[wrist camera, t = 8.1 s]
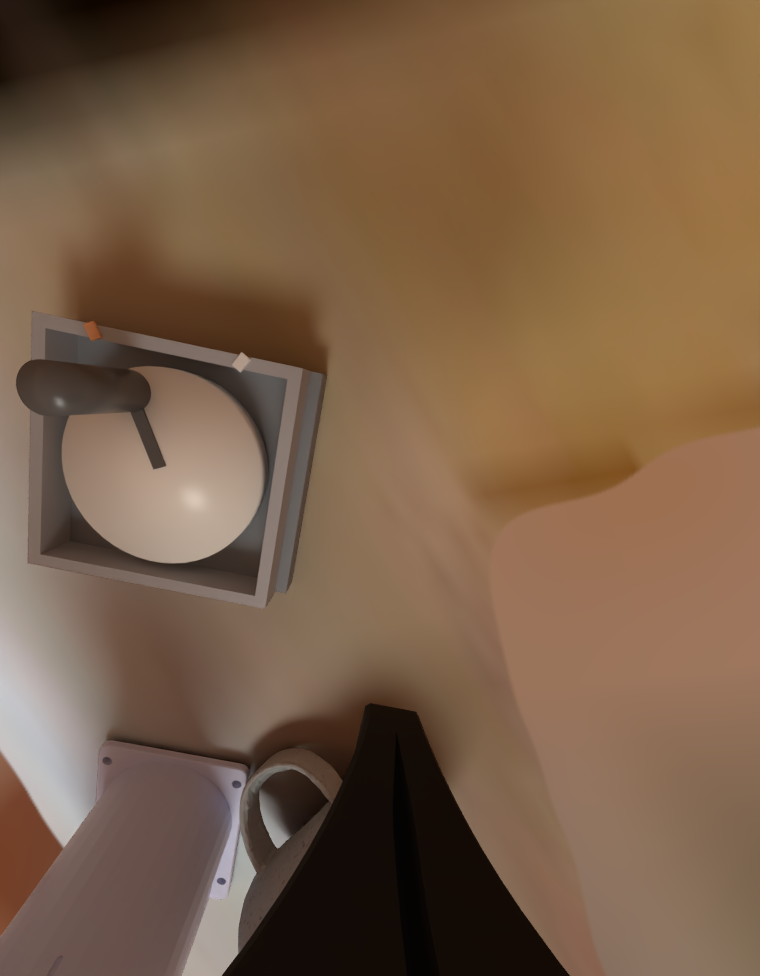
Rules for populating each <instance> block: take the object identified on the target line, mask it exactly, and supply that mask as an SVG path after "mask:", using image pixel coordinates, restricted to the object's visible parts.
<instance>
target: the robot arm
mask: <svg viewBox="0 0 760 976" xmlns="http://www.w3.org/2000/svg"><path fill="white" fill-rule="evenodd" d="M248 777H249V769H248V767H247V766H245V765H244V764H241V763H235V762H230V761H224V760H219V759H213V758H208V757H202V756H196V755H191V754H185V753H180V752H174V751H169V750H163V749H158V748H152V747H147V746H141V745H136V744H130V743H125V742H119V741H114V740H109V741H106V742H105V743H104V744H103V745H102V746H101V747H100V749H99V758H98V773H97V789H96V804H95V806H94V807H93V808H92V810H91V811H90V813H89V814H88V815H87V817H86V818H85V820H84V821H83V822H82V824H81V825H80V827H79V828H78V829H77V831H76V832H75V834H74V835H73V836H72V838H71V839H70V840H69V842H68V843H67V845H66V846H65V847H64V849H63V850H62V852H61V853H60V855H59V856H58V857H57V859H56V860H55V861H54V863H53V864H52V866H51V867H50V869H49V870H48V871H47V873H46V874H45V875H44V877H43V878H42V880H41V881H40V882H39V884H38V886H37V887H36V888H35V889H34V891H33V892H32V894H31V895H30V896H29V898H28V899H27V900H26V902H25V903H24V905H23V906H22V908H21V909H20V910H19V912H18V913H17V914H16V916H15V917H14V919H13V920H12V921H11V923H10V924H9V926H8V927H7V928H6V930H5V931H4V933H3V934H2V935H1V937H0V976H182V973H183V970H184V967H185V964H186V962H187V959H188V956H189V953H190V950H191V947H192V945H193V942H194V939H195V936H196V933H197V931H198V928H199V925H200V922H201V919H202V916H203V914H204V911H205V908H206V905H207V902H208V900H209V898H211V899H217V900H222V899H225V898H226V897H227V896H228V894H229V890H230V886H231V880H232V874H233V868H234V862H235V856H236V850H237V844H238V838H239V831H240V819H239V806H240V799H241V795H242V792H243V789H244V787H245V785H246V783H247V781H248ZM236 780H237V781H236ZM238 781H240V782H238ZM222 976H570V975H569V974H568V973H567V972H566V970H565V969H564V968H563V967H562V965H561V964H560V963H559V961H558V960H557V959H556V957H555V956H554V955H553V953H552V952H551V950H550V949H549V948H548V946H547V945H546V944H545V942H544V941H543V939H542V938H541V937H540V935H539V934H538V933H537V931H536V930H535V928H534V927H533V926H532V924H531V923H530V922H529V920H528V919H527V917H526V916H525V915H524V913H523V912H522V911H521V909H520V908H519V906H518V905H517V903H516V902H515V900H514V899H513V897H512V896H511V894H510V893H509V891H508V890H507V888H506V887H505V885H504V884H503V882H502V881H501V879H500V877H499V876H498V874H497V873H496V871H495V869H494V868H493V866H492V864H491V863H490V861H489V860H488V858H487V856H486V855H485V853H484V851H483V850H482V848H481V846H480V845H479V843H478V841H477V839H476V838H475V836H474V834H473V832H472V830H471V829H470V827H469V825H468V823H467V821H466V819H465V818H464V816H463V814H462V812H461V810H460V808H459V806H458V804H457V802H456V800H455V798H454V796H453V794H452V792H451V790H450V788H449V786H448V784H447V782H446V780H445V778H444V776H443V774H442V772H441V769H440V767H439V765H438V763H437V761H436V758H435V756H434V754H433V751H432V749H431V747H430V744H429V742H428V739H427V737H426V735H425V732H424V730H423V727H422V724H421V722H420V719H419V716H418V715H417V713H416V712H414V711H409V710H403V709H398V708H393V707H387V706H382V705H377V704H371V703H370V704H368V705H367V706H365V710H364V714H363V719H362V723H361V727H360V732H359V736H358V740H357V745H356V749H355V752H354V755H353V758H352V760H351V763H350V765H349V768H348V770H347V773H346V775H345V777H344V780H343V782H342V784H341V786H340V788H339V790H338V792H337V795H336V797H335V799H334V801H333V803H332V805H331V807H330V809H329V811H328V813H327V815H326V817H325V819H324V821H323V823H322V825H321V826H320V828H319V830H318V832H317V834H316V835H315V837H314V839H313V841H312V843H311V844H310V846H309V848H308V850H307V851H306V853H305V855H304V856H303V858H302V860H301V861H300V863H299V865H298V866H297V868H296V870H295V871H294V873H293V875H292V876H291V878H290V879H289V881H288V882H287V884H286V886H285V887H284V889H283V890H282V892H281V893H280V895H279V896H278V898H277V899H276V901H275V902H274V904H273V905H272V907H271V908H270V909H269V911H268V912H267V914H266V915H265V917H264V918H263V920H262V921H261V923H260V924H259V926H258V927H257V929H256V930H255V931H254V933H253V934H252V936H251V937H250V939H249V940H248V941H247V943H246V944H245V946H244V947H243V948H242V950H241V951H240V952H239V954H238V955H237V956H236V958H235V959H234V960H233V962H232V963H231V964H230V966H229V967H228V968H227V970H226V971H225V972H224V973H223V975H222Z"/></svg>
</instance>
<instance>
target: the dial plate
mask: <svg viewBox="0 0 760 976" xmlns="http://www.w3.org/2000/svg"><path fill="white" fill-rule="evenodd" d="M35 359H44V360H53V361H61V362H70V363H79V364H87V365H96V366H105V367H113V368H122V369H129V368H133V367H143V366H155V367H166V368H173V369H179V370H184V371H189V372H192V373H195V374H198V375H201V376H203V377H205V378H207V379H209V380H211V381H213V382H215V383H217V384H218V385H220V386H221V387H223V388H224V389H226V390H227V391H228V392H229V393H230V394H232V395H233V396H234V397H235V398H236V399H237V400H238V401H239V402H240V403H241V404H242V405H243V406H244V408H245V409H246V410H247V412H248V413H249V414H250V416H251V417H252V419H253V421H254V422H255V424H256V426H257V428H258V430H259V432H260V435H261V437H262V440H263V442H264V446H265V450H266V454H267V462H268V482H267V489H266V493H265V497H264V500H263V503H262V505H261V507H260V510H259V512H258V513H257V515H256V517H255V518H254V520H253V521H252V522H251V524H250V525H249V526H248V527H247V528H246V530H245V531H243V532H242V533H241V534H240V535H239V536H238V537H237V538H236V539H235V540H234V541H233V542H231V543H230V544H229V545H228V546H226V547H225V548H224V549H222V550H221V551H219V552H217V553H215V554H213V555H211V556H209V557H206V558H203V559H200V560H197V561H192V562H186V563H160V562H154V561H149V560H145V559H142V558H139V557H136V556H134V555H131V554H129V553H127V552H124V551H123V550H121V549H119V548H118V547H116V546H114V545H113V544H111V543H110V542H109V541H107V540H106V539H104V538H103V537H102V536H101V535H100V534H99V533H98V532H97V531H95V530H94V529H93V528H92V526H91V525H90V524H89V523H88V522H87V521H86V520H85V518H84V517H83V515H82V514H81V513H80V511H79V510H78V508H77V506H76V505H75V503H74V501H73V499H72V497H71V495H70V492H69V490H68V487H67V484H66V481H65V477H64V473H63V466H62V440H63V434H64V430H65V427H66V423H67V420H68V418H69V416H70V415H66V416H42V415H39V414H37V413H35V412H33V411H31V410H30V458H29V521H28V563H30V564H35V565H41V566H46V567H51V568H56V569H61V570H66V571H72V572H77V573H82V574H87V575H92V576H98V577H103V578H108V579H113V580H118V581H123V582H129V583H134V584H139V585H144V586H149V587H154V588H160V589H165V590H170V591H175V592H180V593H185V594H191V595H196V596H201V597H206V598H211V599H217V600H222V601H227V602H232V603H237V604H242V605H248V606H253V607H258V608H263V609H265V608H266V606H267V605H268V603H269V601H270V599H271V598H272V596H273V594H274V592H275V591H276V592H281V593H286V592H287V590H288V588H289V586H290V584H291V582H292V578H293V572H294V566H295V560H296V554H297V548H298V542H299V537H300V531H301V525H302V519H303V513H304V507H305V501H306V496H307V490H308V484H309V478H310V472H311V466H312V460H313V455H314V449H315V443H316V437H317V431H318V425H319V419H320V414H321V408H322V402H323V396H324V390H325V384H326V378H327V375H325V374H321V373H317V372H312V371H309V370H306V369H303V368H299V367H294V366H289V365H285V364H280V363H275V362H271V361H266V360H261V359H256V358H252V357H247V356H246V355H245V354H244V353H243V352H241V353H240V355H238V354H233V353H228V352H223V351H219V350H214V349H209V348H205V347H200V346H195V345H190V344H186V343H181V342H176V341H171V340H167V339H162V338H157V337H153V336H148V335H143V334H138V333H134V332H129V331H124V330H120V329H115V328H110V327H105V326H101V325H96V322H95V321H91V322H88V323H87V322H82V321H77V320H72V319H68V318H63V317H58V316H53V315H49V314H44V313H39V312H35V311H32V333H31V360H35Z"/></svg>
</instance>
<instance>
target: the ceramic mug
mask: <svg viewBox="0 0 760 976" xmlns="http://www.w3.org/2000/svg"><path fill="white" fill-rule="evenodd" d="M290 769H293V770H296V771H298V772H300V773H302V774H303V775H306V776H307V777H308V778H309V779H310V780H311V781H312V782H313V783H314V784H315V785H316V786H317V787H318V788H319V789H320V790H321V792H322V794H323V795H324V796H325V797H326V798H327V799H328V800H329V802H327V803H326V804H325V805H324V807H323V808H322V809H321V810H320V811H319V812H318V813H317V814H316V815H315V816H314V817H313V818H312V819H311V820H310V821H309V822H308V823H306V824H305V825H304V826H303V827H302V828H301V829H300V830H299V831H297V832H296V833H295V834H294V835H293V836H292V837H291V838H290V839H289V840H287V841H286V842H285V843H284V844H283V845H282V846H281V847H280V848H278V849H277V848H276V847H275V845H274V844H273V842H272V840H271V838H270V836H269V833H268V831H267V830H266V827H265V825H264V822H263V819H262V815H261V811H260V802H259V791H260V788H261V786H262V784H263V783H264V782H265V781H266V780H267V779H268V778H269V777H270V776H271V775H273V774H274V773H275V772H281V771H286V770H290ZM342 782H343V781H342V780H341V778H340V776H339V775H338V773H337V772H336V771H335V769H334V768H333V767H332V766H331V765H330V764H329V763H327V762H326V761H324V760H323V759H322V758H321V757H319V756H317V755H316V753H314V752H311V751H309V750H306V749H301V748H291V749H285V750H282V751H279V752H277V753H275V754H274V755H273V756H271V757H270V758H269V759H268V760H267V761H266V762H265V763H264V764H263V765H262V766H261V767H260V768H259V769H258V770H257V771H256V772H255V773H254V774H253V775H252V776H251V777H250V779H249V780H248V781H247V783H246V785H245V787H244V789H243V792H242V795H241V799H240V806H239V819H240V827H241V833H242V837H243V841H244V844H245V848H246V851H247V854H248V856H249V858H250V860H251V862H252V864H253V866H254V868H255V870H256V872H257V874H256V875H255V877H254V879H253V881H252V883H251V886H250V888H249V890H248V892H247V895H246V897H245V900H244V903H243V908H242V913H241V918H240V923H239V933H238V952H240V951H241V950H242V948H243V947H244V946H245V944H246V943H247V941H248V940H249V939H250V937H251V936H252V934H253V933H254V931H255V930H256V929H257V927H258V926H259V924H260V923H261V921H262V920H263V918H264V917H265V915H266V914H267V912H268V911H269V909H270V908H271V907H272V905H273V904H274V902H275V901H276V899H277V898H278V896H279V895H280V893H281V892H282V890H283V889H284V887H285V886H286V884H287V882H288V881H289V879H290V878H291V876H292V875H293V873H294V871H295V870H296V868H297V866H298V865H299V863H300V861H301V860H302V858H303V856H304V855H305V853H306V851H307V850H308V848H309V846H310V844H311V843H312V841H313V839H314V837H315V835H316V834H317V832H318V830H319V828H320V826H321V825H322V823H323V821H324V819H325V817H326V815H327V813H328V811H329V809H330V807H331V805H332V803H333V801H334V799H335V797H336V795H337V792H338V790H339V788H340V786H341V784H342Z"/></svg>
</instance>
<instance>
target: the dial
mask: <svg viewBox="0 0 760 976" xmlns="http://www.w3.org/2000/svg"><path fill="white" fill-rule="evenodd" d="M16 387H17V391H18V394H19V396H20V398H21V400H22V402H23V403H24V404H25V405H26V406H27V407H28V408H29V409H30V410H31V411H33V412H35V413H37V414H39V415H42V416H66V415H70V416H69V418H68V420H67V423H66V427H65V430H64V434H63V440H62V466H63V473H64V477H65V481H66V484H67V487H68V490H69V492H70V495H71V497H72V499H73V501H74V503H75V505H76V506H77V508H78V510H79V511H80V513H81V514H82V515H83V517H84V518H85V520H86V521H87V522H88V523H89V524H90V525H91V526H92V528H93V529H94V530H95V531H97V532H98V533H99V534H100V535H101V536H102V537H103V538H104V539H106V540H107V541H109V542H110V543H111V544H113V545H114V546H116V547H118V548H119V549H121V550H123V551H124V552H127V553H129V554H131V555H134V556H136V557H139V558H142V559H145V560H149V561H154V562H160V563H186V562H192V561H197V560H200V559H203V558H206V557H209V556H211V555H213V554H215V553H217V552H219V551H221V550H222V549H224V548H225V547H226V546H228V545H229V544H230V543H231V542H233V541H234V540H235V539H236V538H237V537H238V536H239V535H240V534H241V533H242V532H243V531H245V530H246V528H247V527H248V526H249V525H250V524H251V522H252V521H253V520H254V518H255V517H256V515H257V513H258V512H259V510H260V507H261V505H262V503H263V500H264V497H265V493H266V489H267V482H268V462H267V454H266V450H265V446H264V442H263V440H262V437H261V435H260V432H259V430H258V428H257V426H256V424H255V422H254V421H253V419H252V417H251V416H250V414H249V413H248V412H247V410H246V409H245V408H244V406H243V405H242V404H241V403H240V402H239V401H238V400H237V399H236V398H235V397H234V396H233V395H232V394H230V393H229V392H228V391H227V390H226V389H224V388H223V387H221V386H220V385H218V384H217V383H215V382H213V381H211V380H209V379H207V378H205V377H203V376H201V375H198V374H195V373H192V372H189V371H184V370H179V369H173V368H166V367H155V366H143V367H133V368H129V369H122V368H113V367H105V366H96V365H87V364H79V363H70V362H61V361H53V360H44V359H35V360H31V361H29V362H27V363H25V364H24V365H23V366H22V367H21V368H20V370H19V372H18V374H17V379H16Z"/></svg>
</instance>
